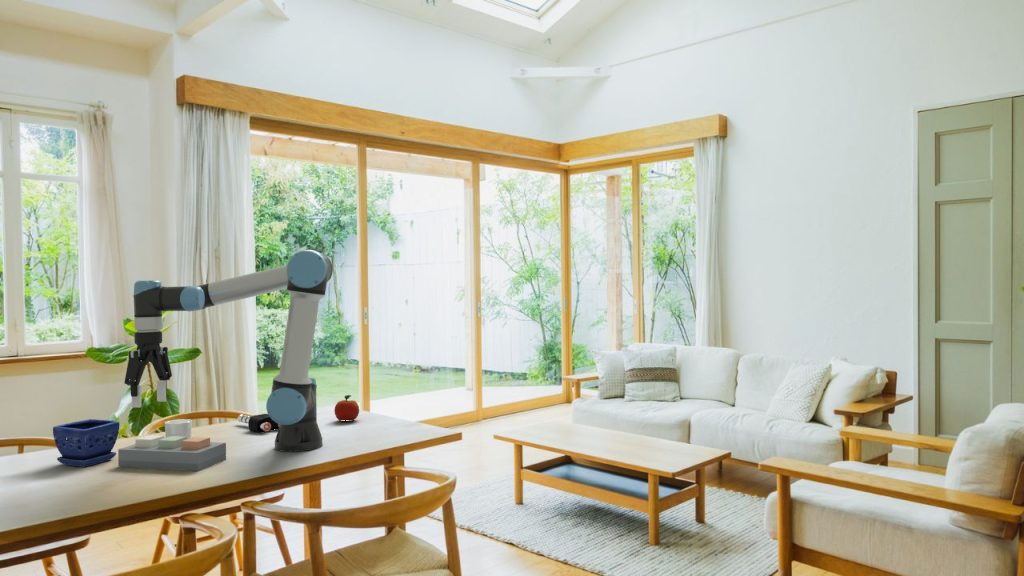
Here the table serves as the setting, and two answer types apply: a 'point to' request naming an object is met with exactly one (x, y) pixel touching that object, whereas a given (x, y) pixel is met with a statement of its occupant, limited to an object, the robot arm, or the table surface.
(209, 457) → the key panel
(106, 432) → the flower pot
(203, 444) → the key terracotta
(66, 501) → the table surface
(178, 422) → the white cup
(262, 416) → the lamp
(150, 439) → the key offwhite
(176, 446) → the key sage
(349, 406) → the fruit
